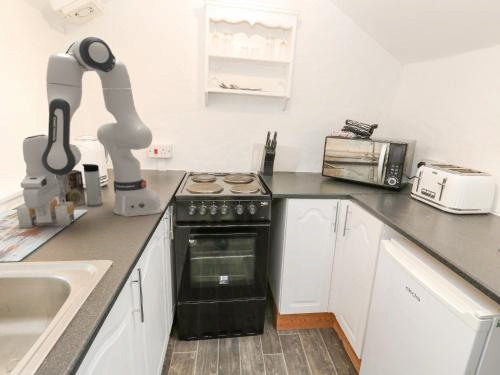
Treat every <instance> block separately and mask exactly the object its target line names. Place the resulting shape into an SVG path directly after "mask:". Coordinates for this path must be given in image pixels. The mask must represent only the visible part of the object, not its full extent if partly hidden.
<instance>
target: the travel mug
mask: <svg viewBox="0 0 500 375" xmlns="http://www.w3.org/2000/svg"><path fill="white" fill-rule="evenodd" d="M82 166H83V175H84V182H85V183H84V184H85V191H86V193H85V194H86V199H87V201H86V202H87V206H88V207H91V208H93V207H94V208H95V207H100V206H102V205H103V197H102V196H103V195H102V186H101V176H100V175H101V174H100V168H99V166H100V165H99V164H94V163H93V164H92V163H82Z"/></svg>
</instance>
